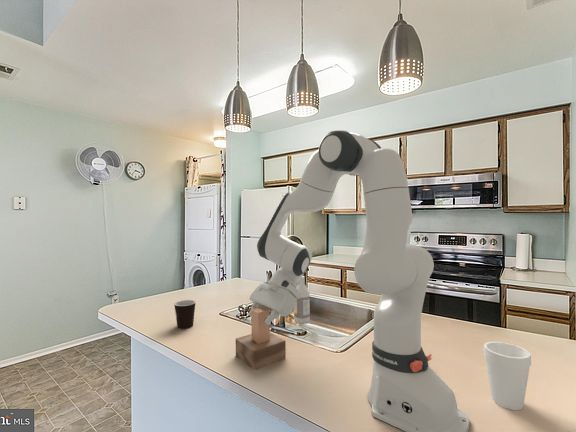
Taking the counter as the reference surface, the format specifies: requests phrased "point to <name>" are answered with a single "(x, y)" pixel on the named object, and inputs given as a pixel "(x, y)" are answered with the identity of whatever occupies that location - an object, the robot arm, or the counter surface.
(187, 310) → the coffee mug
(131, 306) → the counter surface
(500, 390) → the foam cup
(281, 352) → the walnut block
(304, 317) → the bath foam
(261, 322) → the light wooden block
